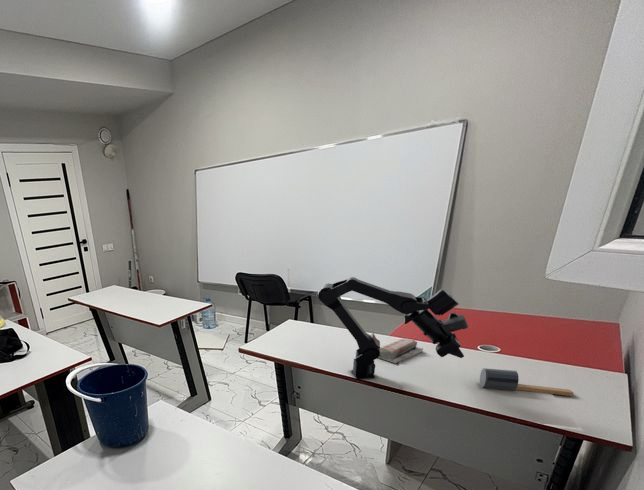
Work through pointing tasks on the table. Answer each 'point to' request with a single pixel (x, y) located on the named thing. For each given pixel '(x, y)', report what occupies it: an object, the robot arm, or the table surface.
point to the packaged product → (399, 350)
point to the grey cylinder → (499, 379)
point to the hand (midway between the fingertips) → (462, 356)
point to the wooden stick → (544, 389)
